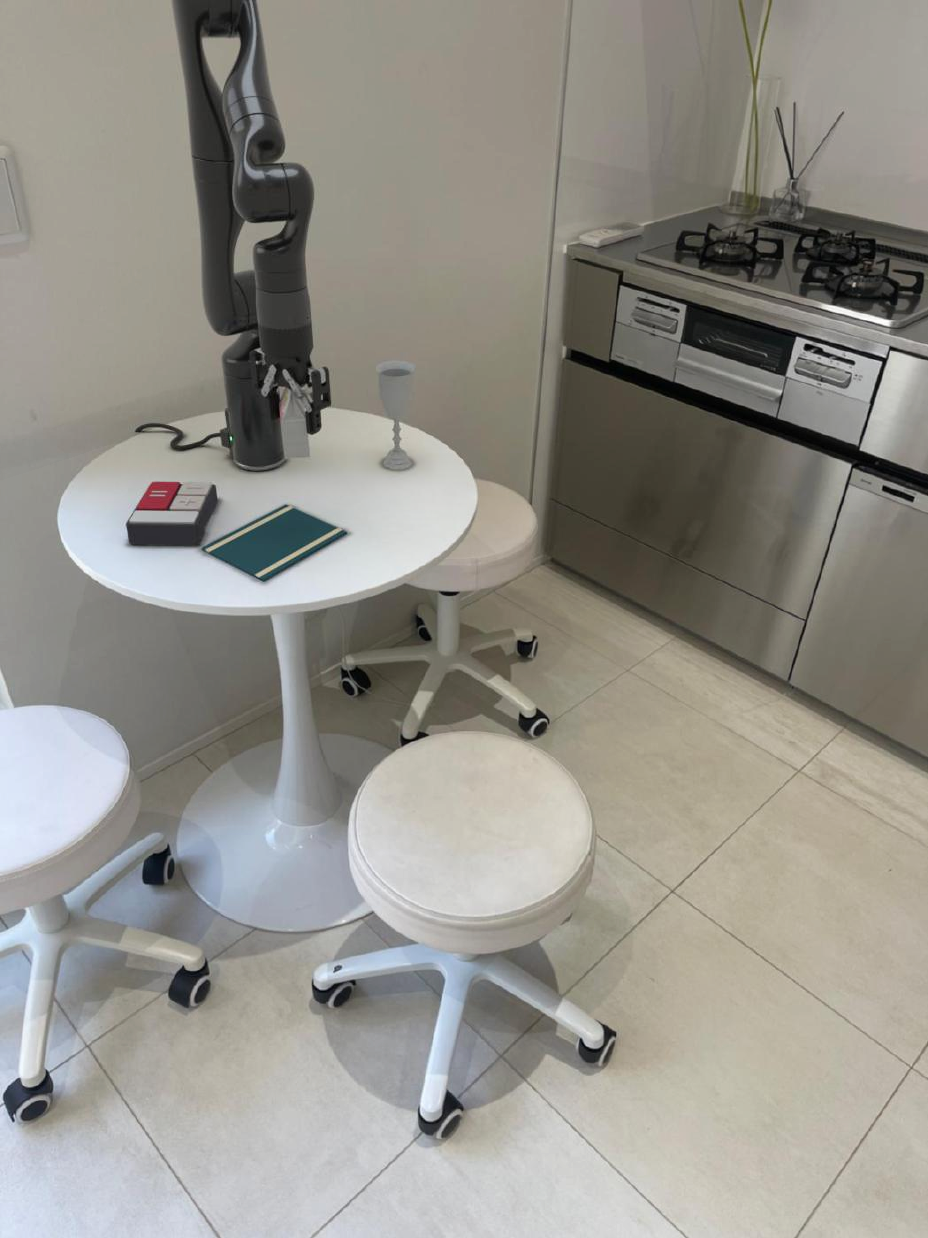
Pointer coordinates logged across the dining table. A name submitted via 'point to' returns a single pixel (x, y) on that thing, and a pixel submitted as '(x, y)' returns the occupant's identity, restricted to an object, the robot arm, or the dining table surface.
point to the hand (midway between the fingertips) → (294, 425)
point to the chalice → (396, 404)
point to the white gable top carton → (293, 426)
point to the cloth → (274, 542)
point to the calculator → (172, 513)
